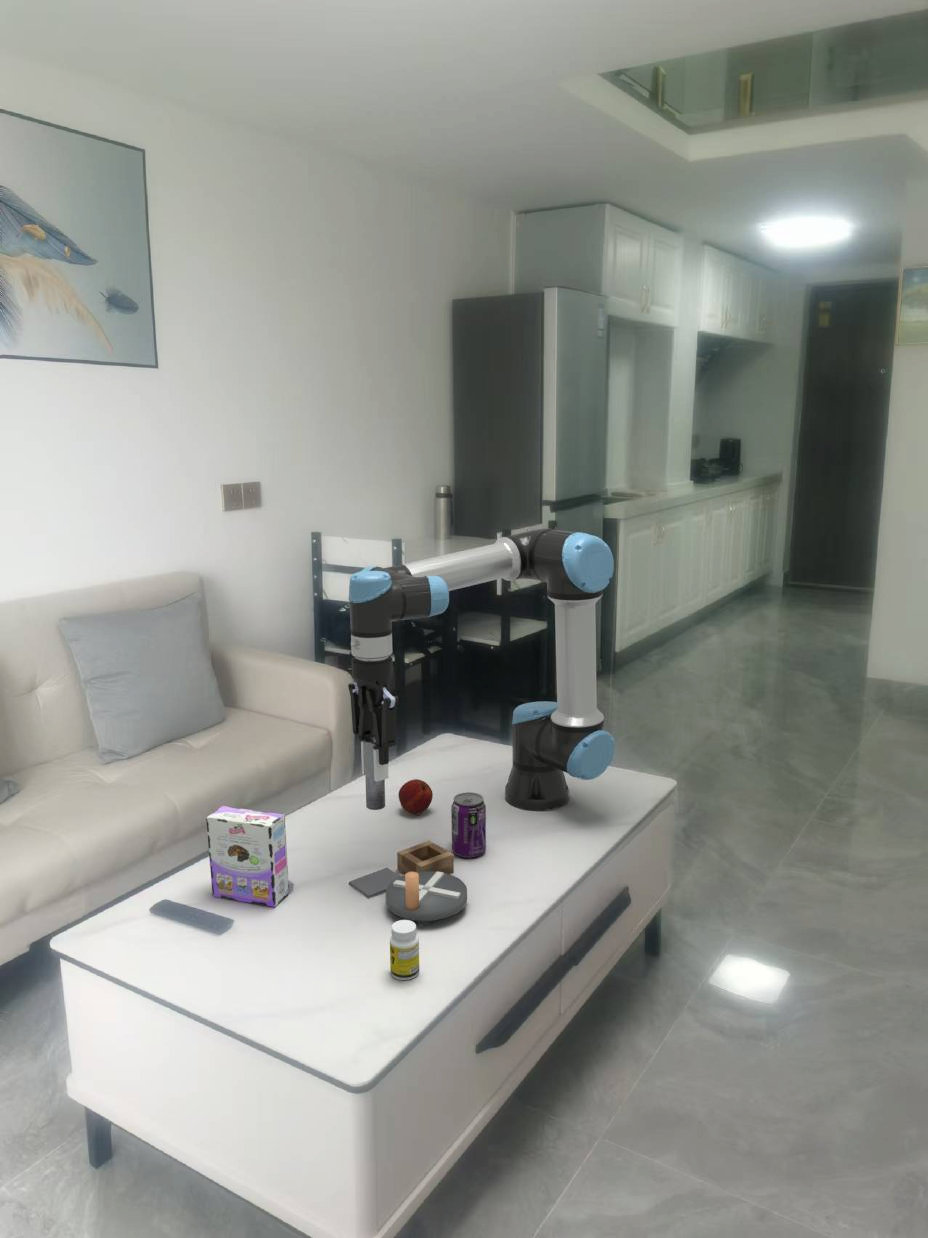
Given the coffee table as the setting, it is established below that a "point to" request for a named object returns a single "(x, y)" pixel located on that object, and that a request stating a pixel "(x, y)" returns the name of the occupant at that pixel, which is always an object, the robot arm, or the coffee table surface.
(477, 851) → the beverage can
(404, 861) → the block
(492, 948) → the coffee table surface
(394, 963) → the supplement bottle
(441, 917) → the handwheel
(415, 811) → the apple
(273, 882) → the candy box
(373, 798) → the grey cylinder
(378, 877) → the rest mat
